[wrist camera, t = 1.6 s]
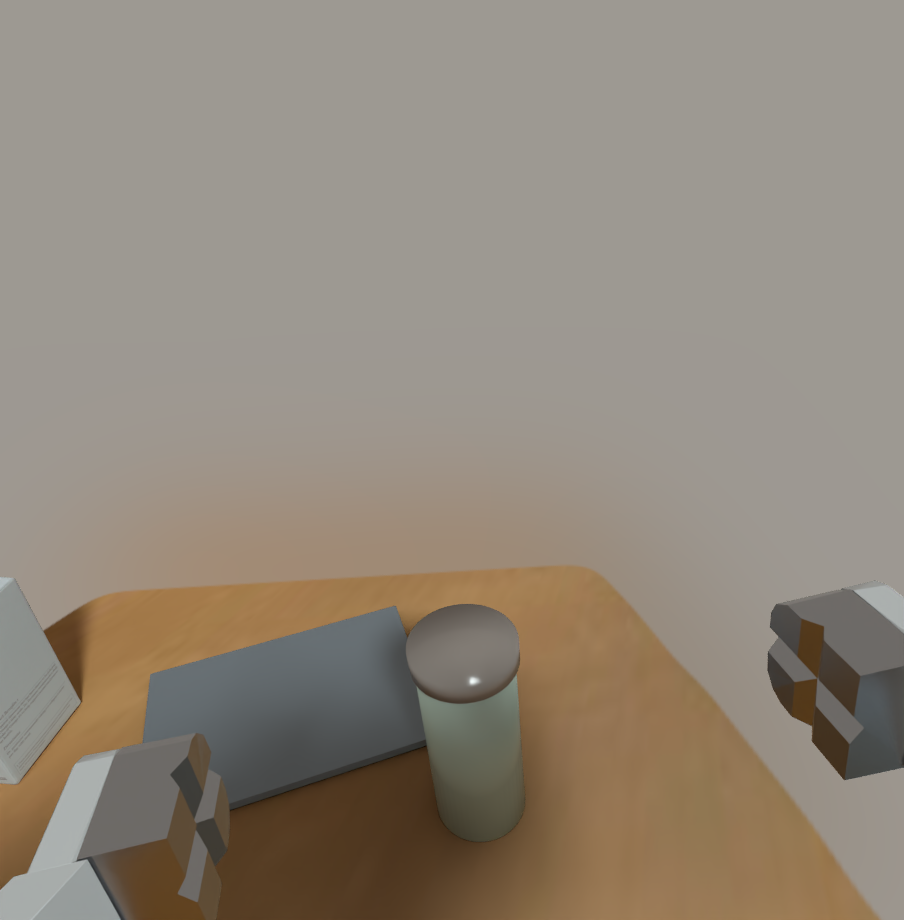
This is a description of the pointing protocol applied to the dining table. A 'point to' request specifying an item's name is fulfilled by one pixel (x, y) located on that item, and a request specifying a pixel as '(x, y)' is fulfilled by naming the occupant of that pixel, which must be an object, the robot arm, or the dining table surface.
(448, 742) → the ceramic jar
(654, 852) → the dining table surface
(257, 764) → the cutting board
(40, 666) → the supplement box
